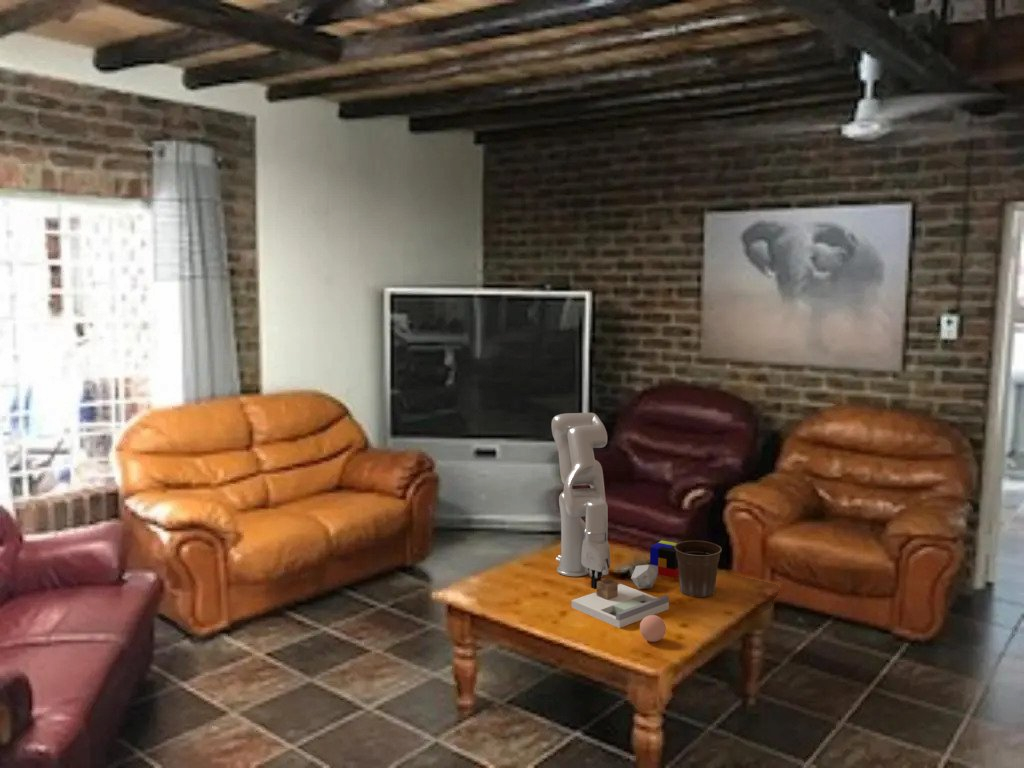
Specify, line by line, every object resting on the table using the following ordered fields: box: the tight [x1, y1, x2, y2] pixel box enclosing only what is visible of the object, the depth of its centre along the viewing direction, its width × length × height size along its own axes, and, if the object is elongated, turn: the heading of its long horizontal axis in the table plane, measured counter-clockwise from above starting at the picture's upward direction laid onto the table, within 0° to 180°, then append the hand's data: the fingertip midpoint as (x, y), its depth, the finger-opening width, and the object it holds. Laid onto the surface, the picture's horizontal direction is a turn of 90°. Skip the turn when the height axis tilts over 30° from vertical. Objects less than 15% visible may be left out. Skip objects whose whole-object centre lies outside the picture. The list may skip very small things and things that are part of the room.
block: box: [596, 578, 619, 600], centre depth 291 cm, size 5×5×5 cm
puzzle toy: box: [649, 540, 679, 579], centre depth 321 cm, size 10×10×10 cm
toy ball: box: [639, 614, 667, 643], centre depth 261 cm, size 8×8×8 cm
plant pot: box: [674, 540, 723, 598], centre depth 301 cm, size 16×16×16 cm
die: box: [630, 564, 658, 590], centre depth 306 cm, size 8×9×10 cm
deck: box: [570, 583, 670, 629], centre depth 287 cm, size 22×24×4 cm
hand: (596, 587), depth 295 cm, fingers closed
